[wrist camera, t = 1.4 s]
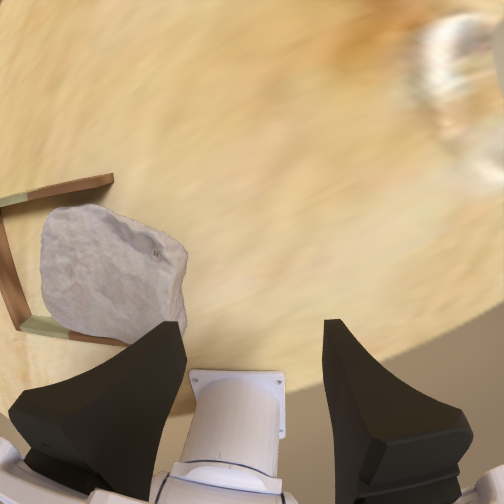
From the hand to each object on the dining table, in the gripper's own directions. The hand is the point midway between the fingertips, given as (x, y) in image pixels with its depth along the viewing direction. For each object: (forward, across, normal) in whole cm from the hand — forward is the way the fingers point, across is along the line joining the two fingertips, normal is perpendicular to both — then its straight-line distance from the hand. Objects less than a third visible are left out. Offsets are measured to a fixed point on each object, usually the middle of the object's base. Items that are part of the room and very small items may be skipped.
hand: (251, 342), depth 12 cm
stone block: (+10, +11, 0) cm, 15 cm away
